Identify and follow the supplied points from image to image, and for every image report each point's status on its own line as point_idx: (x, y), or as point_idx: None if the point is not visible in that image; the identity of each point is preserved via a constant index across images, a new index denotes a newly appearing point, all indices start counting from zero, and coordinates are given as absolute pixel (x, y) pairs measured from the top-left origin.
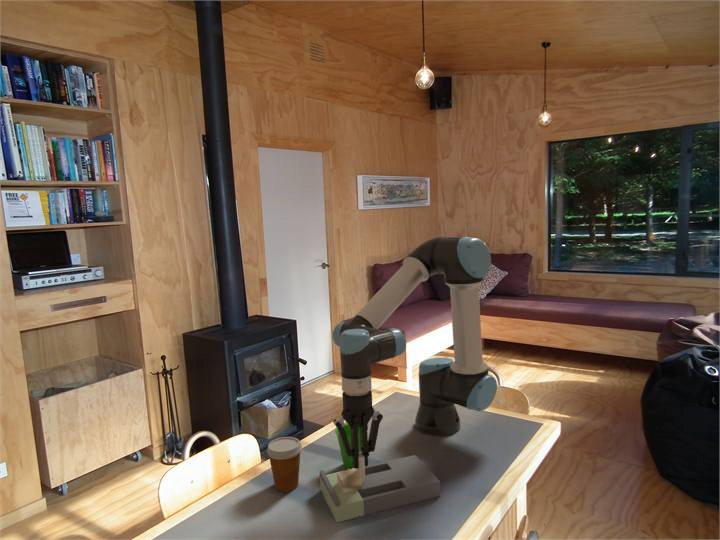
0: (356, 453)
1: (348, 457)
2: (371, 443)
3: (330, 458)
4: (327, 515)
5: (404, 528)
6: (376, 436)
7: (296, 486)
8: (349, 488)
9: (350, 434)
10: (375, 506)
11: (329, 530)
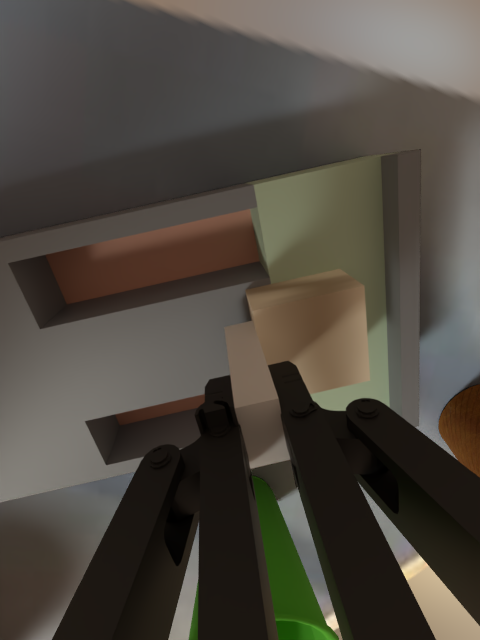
0: (306, 422)
1: (266, 514)
2: (160, 509)
3: (307, 533)
4: None
5: (64, 29)
6: (81, 596)
7: (453, 402)
8: (312, 280)
9: None
10: (190, 196)
11: (405, 103)
